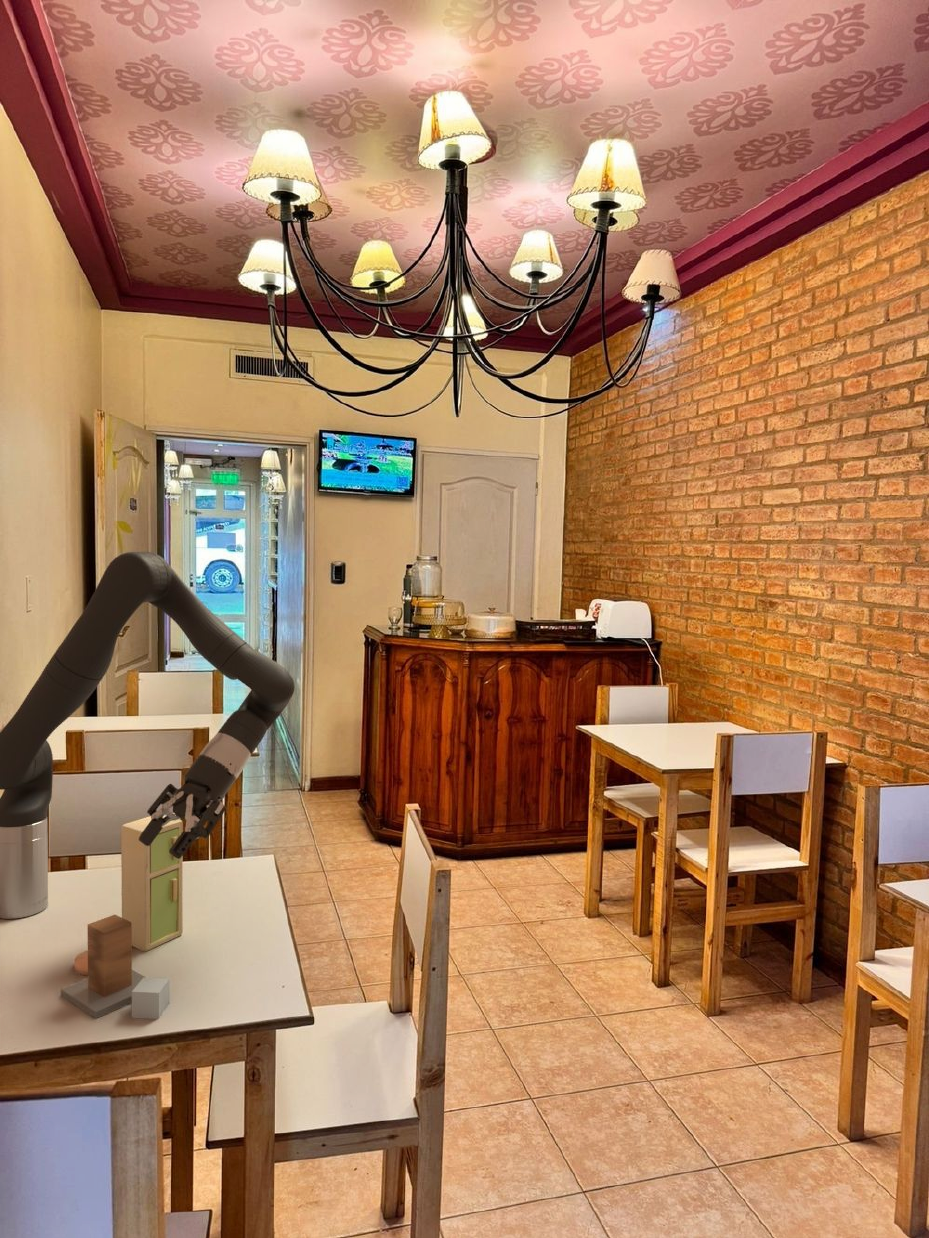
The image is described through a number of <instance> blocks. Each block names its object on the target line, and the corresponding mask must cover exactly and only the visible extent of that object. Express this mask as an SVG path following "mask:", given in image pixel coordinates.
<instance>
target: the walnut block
mask: <svg viewBox="0 0 929 1238" xmlns="http://www.w3.org/2000/svg"><path fill="white" fill-rule="evenodd" d="M132 947H133V946H132V922H130V921H128V920H125V919H123V918H122V916H119V915H117V914H112V915H110V916H107V917H104V918H102V919H98V920H96V921H94V922H91V923H88V924H87V951H88V975H87V978H88V988H89V989H91V990H93V991H94V992H96V993H98V994H99V995H101V996H103V997H106V996H109V995H111V994H113V993H115V992H118V991H120V990H122V989H124V988H126V987H129V986H131V985H132V970H133V969H132V967H133V966H132V965H133V964H132V963H133V960H132V959H133V957H132V956H133V954H132V953H133V951H132V949H133V948H132Z"/></svg>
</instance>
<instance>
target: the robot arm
mask: <svg viewBox="0 0 929 1238" xmlns="http://www.w3.org/2000/svg"><path fill="white" fill-rule="evenodd" d="M144 603H149V604H151V605H152V606H154V607H156V608H157V609H159V610H160V611H161V612H163V613H164V614H166V615H167V616H169V618H170V619H172V620H173V621H174V623H175V624H176V625H178V627H179V628H180V629H181V631H182V632H183V633H184V634H185V636H186V638H187V639H188V640H189V642H190V643H191V645H192V646H193V648H194V649H195V650H196V651H197V653H199V655H200V656H202V658H204V659H205V660H206V661H207V662H208V663H209V664H210V665H211V666H212V667H214V668H215V669H216V670H217V671H219V672H220V673H221V674H222V675H223V676H225V677H226V678H228V679H229V680H232V681H235V680H238V681H239V682H240V683H242V684H243V685H245V686H246V687H248V688H249V689H250V691H249V692H248V694H247V695H246V697H245V698H244V700H243V701H242V703H241V705H239V707H238V709H236V710H234V711H233V712H232V713H231V715H230V716H229V717H228V718H227V719H226V720H225V722H224V723H223V725H222V726H221V727H220V729H219V730H218V731H217V733H216V734H215V735H214V736H213V737H212V738H211V739H210V740H209V741H208V742H207V744H206V745H205V746H204V747H203V749H202V750H201V751H200V753H199V754H198V756H197V757H196V759H195V760H194V761H193V763H191V765H190V766H189V768H188V769H187V770H186V772H185V774H184V775H183V778H184V783H183V785H181V787H180V788H177V787H175V785H173V784H172V783H169V784H168V785H166V787H165V788H164V789H163V790H162V792H161V793H160V794H159V796H158V797H157V798H156V799H155V801H153V803H152V804H151V805H150V807H149V808H148V810H147V814H149V816H151V821H150V823H149V824H148V825H147V827H146V828H145V829H144V831H143V832H142V833H141V835H140V837H139V841H140V842H141V843H143V844H144V845H146V846H150V845H151V843H152V842H153V840H154V839H155V838H156V836H157V835H158V834H159V832H160V831H161V830H162V828H163V827H162V826H164V825H165V824H167V823H169V822H170V821H172V820H173V821H175V820H177V819H179V820H181V819H182V820H185V822H186V823H185V828H184V831H183V832H182V833H181V835H180V836H179V837H178V839H177V840H176V842H175V843H174V844H173V846H172V847H171V849H170V850H169V853H170V854H171V855H173V856H174V857H175V858H178V859H180V858H181V857H182V856H184V855H185V854H186V852H187V851H188V850H189V848H190V847H191V845H193V842H194V841H195V840H198V839H199V838H203V839H207V838H209V836H210V835H211V833H212V832H213V830H214V829H215V827H216V826H217V824H218V822H219V821H220V819H221V818H222V816H223V815H224V813H225V812H226V810H227V806H226V805H225V804H224V803H223V802H222V800H223V799H224V797H225V796H226V795H227V793H228V791H229V790H230V789H231V787H232V786H233V784H234V783H235V782H236V780H237V779H238V778H239V776H240V775H241V773H242V771H243V770H244V769H245V767H246V765H247V763H248V762H249V760H250V758H251V756H252V755H253V753H254V752H255V751H256V749H257V748H258V746H259V745H260V744H261V742H262V740H263V738H264V737H265V735H266V733H267V731H268V730H269V729H270V728H271V726H272V725H274V723H275V721H276V720H277V719H278V718H279V717H280V715H281V714H282V713H283V711H284V710H285V709H286V707H287V706H288V704H289V702H290V701H291V699H292V697H293V696H294V692H295V686H296V685H295V680H294V679H293V677H292V675H291V673H290V672H289V671H287V669H286V668H285V667H284V666H283V665H281V664H280V663H278V662H276V661H275V660H273V659H272V658H270V657H268V656H267V655H265V654H263V653H261V652H260V651H257V650H256V649H254V648H253V647H252V646H251V645H250V644H249V643H248V642H247V641H245V640H244V639H243V638H242V637H241V636H239V634H237V633H236V632H235V631H234V630H232V629H231V628H230V627H229V626H228V624H226V623H224V621H222V620H221V619H220V618H219V617H217V615H215V614H214V612H212V611H211V610H210V609H209V608H208V607H207V606H206V605H205V604H204V603H203V602H202V601H201V599H200V598H198V596H197V595H195V593H194V592H193V591H192V590H191V589H190V587H188V585H186V584H185V582H184V581H183V580H182V579H181V577H180V576H179V575H178V574H177V572H176V571H175V570H174V569H173V568H172V566H171V565H170V564H169V563H168V562H167V561H166V560H165V559H164V557H162V556H161V555H159V554H157V553H154V552H150V551H128V552H124V553H121V554H120V555H117V556H116V557H114V558H113V560H112V561H110V562H109V564H108V566H107V567H106V568H105V571H104V573H103V574H102V576H101V578H100V580H99V583H98V585H97V586H96V588H95V590H94V592H93V594H92V596H91V598H90V600H89V601H88V604H87V605H86V607H85V609H84V610H83V612H82V613H81V615H80V616H79V617H78V619H77V620H76V622H75V623H74V624H73V626H72V627H71V629H70V631H69V632H68V633H67V635H66V636H65V638H64V640H62V642H61V643H60V645H59V646H58V647H57V649H56V651H55V652H54V653H53V655H52V656H51V658H50V659H49V661H48V663H47V664H46V665H45V667H44V668H43V670H42V672H41V674H40V675H39V677H38V679H37V680H36V682H35V683H34V684H33V686H32V687H31V689H30V690H29V691H28V693H27V695H26V697H25V698H24V700H23V701H22V703H21V705H20V706H19V708H18V709H17V711H16V712H15V714H14V715H13V716H12V718H10V720H9V721H8V723H7V724H5V726H4V727H3V728H2V729H1V730H0V791H1V790H2V791H3V792H2V794H1V796H0V919H4V920H5V919H7V920H8V919H19V918H26V917H30V916H32V915H35V914H38V913H40V912H43V910H45V909H47V907H48V906H49V858H48V857H49V853H48V849H49V846H48V841H49V840H48V839H49V838H48V837H49V836H48V808H49V805H50V803H51V801H52V797H53V779H54V757H53V752H52V748H51V745H50V743H49V742H48V738H49V737H50V736H51V735H52V734H53V732H54V731H55V730H56V729H57V728H58V727H60V725H62V724H63V723H64V722H65V721H66V720H67V719H68V718H69V717H71V716H72V715H73V714H74V713H75V712H76V711H78V710H79V709H80V707H81V706H83V704H85V702H86V701H87V700H88V699H89V698H90V697H91V695H93V693H94V691H95V690H96V689H97V688H98V686H99V684H100V682H101V681H102V679H103V678H104V677H105V675H106V673H107V672H108V670H109V667H110V666H111V663H112V660H113V658H114V657H113V656H114V651H115V647H116V645H117V641H118V637H119V635H120V633H121V631H122V630H123V628H124V627H125V625H126V624H127V622H128V621H129V620H130V618H131V617H132V615H134V613H136V611H137V610H138V608H140V606H142V604H144ZM160 805H161V808H160V809H158V808H159V807H160ZM157 809H158V810H157ZM164 815H165V816H166V817H164V818H163V816H164ZM207 822H208V824H207V825H206V823H207ZM205 825H206V827H205Z"/></svg>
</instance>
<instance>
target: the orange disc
mask: <svg viewBox="0 0 929 1238" xmlns="http://www.w3.org/2000/svg"><path fill="white" fill-rule="evenodd" d="M73 960H74V961H73V962H74V964H73V966H74V968H73V971H74V972H75V973H76V974H78V975H81V976H88V950H85V951H83V952H81V953H79V954H77V955H76V956H75V957H74V959H73Z"/></svg>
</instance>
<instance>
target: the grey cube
mask: <svg viewBox="0 0 929 1238" xmlns="http://www.w3.org/2000/svg"><path fill="white" fill-rule="evenodd" d="M170 980H171V979H170V978H167V977H165V978H162V977H160V978H159V977H146V978H143V979H142V980H141V981H140V982H139V983H138V985H137V986H136V987H135V988H134V990H133V991H132V1002H131V1018H132V1019H133V1018H135V1019H138V1018H139V1019H160V1018H161V1017H162V1016H163V1013H164V1012H165V1010H167V1008H168V1007H169V1005H170V1002H171V1001H170V997H171V995H170V989H171V988H170V987H171V986H170V983H171V982H170Z"/></svg>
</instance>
